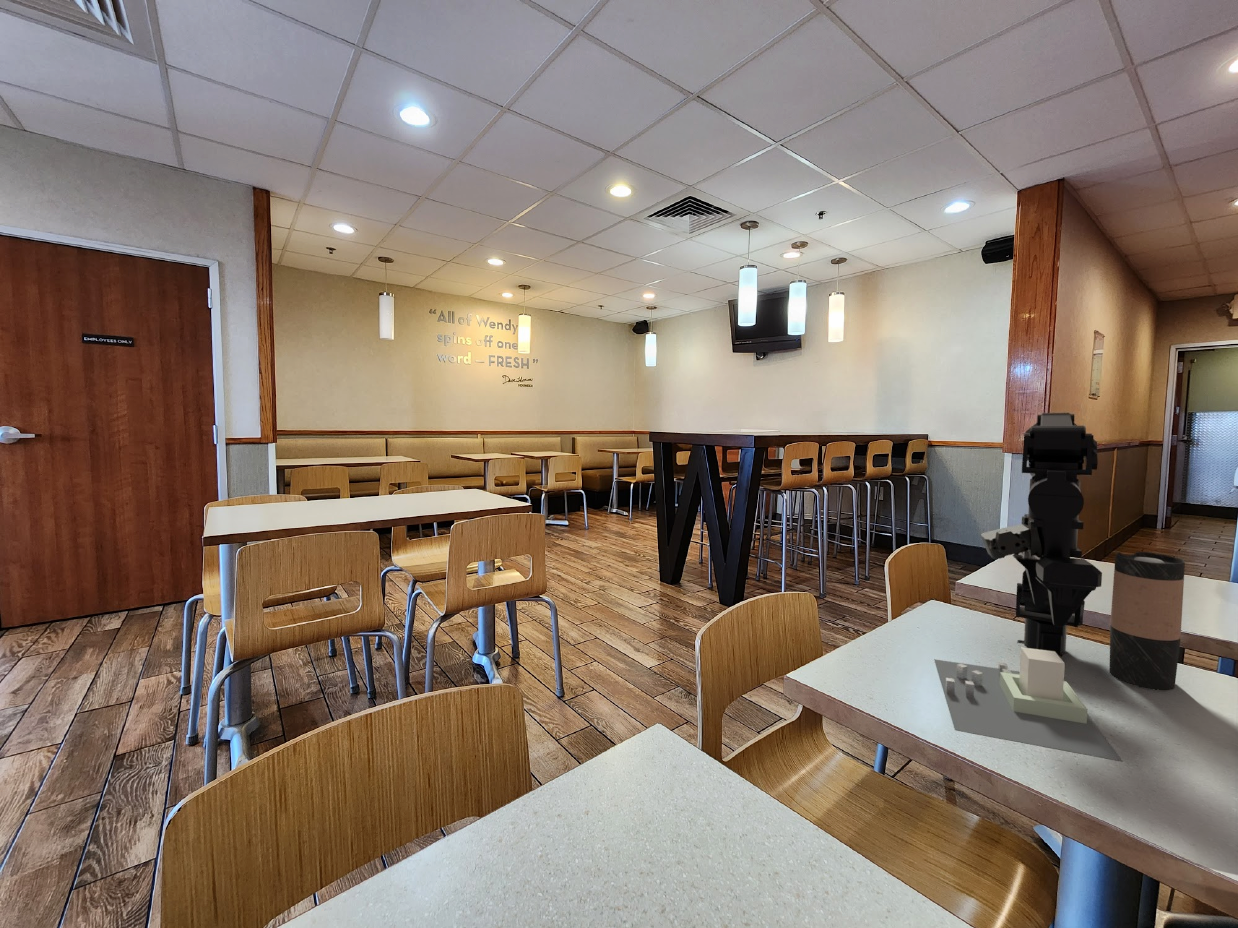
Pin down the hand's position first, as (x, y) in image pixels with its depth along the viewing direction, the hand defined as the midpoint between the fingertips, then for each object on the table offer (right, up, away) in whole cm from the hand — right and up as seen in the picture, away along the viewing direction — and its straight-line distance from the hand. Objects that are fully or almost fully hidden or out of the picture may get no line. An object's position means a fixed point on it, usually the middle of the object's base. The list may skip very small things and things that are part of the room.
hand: (1047, 614), depth 80 cm
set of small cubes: (-9, -11, +2) cm, 15 cm away
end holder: (-4, -11, -4) cm, 13 cm away
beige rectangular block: (-4, -11, -4) cm, 13 cm away
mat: (-8, -13, -3) cm, 15 cm away
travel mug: (+16, -12, +3) cm, 20 cm away
